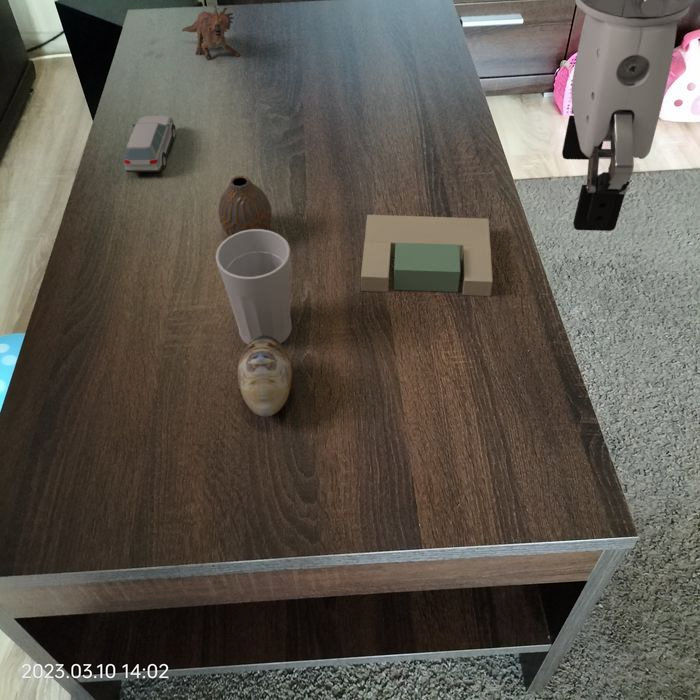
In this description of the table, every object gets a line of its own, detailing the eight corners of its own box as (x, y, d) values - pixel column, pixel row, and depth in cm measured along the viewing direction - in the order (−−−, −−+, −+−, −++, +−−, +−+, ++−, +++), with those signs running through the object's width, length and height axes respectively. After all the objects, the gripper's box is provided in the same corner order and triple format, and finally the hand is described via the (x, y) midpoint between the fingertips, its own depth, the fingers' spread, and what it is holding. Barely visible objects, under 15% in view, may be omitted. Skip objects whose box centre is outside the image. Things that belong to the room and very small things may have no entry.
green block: (457, 265, 94) (459, 244, 91) (458, 292, 90) (460, 271, 88) (395, 263, 94) (395, 242, 91) (393, 290, 91) (394, 269, 88)
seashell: (295, 429, 77) (288, 382, 71) (241, 433, 77) (230, 386, 71) (293, 361, 84) (287, 313, 78) (244, 364, 83) (233, 316, 77)
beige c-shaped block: (486, 233, 97) (488, 218, 96) (490, 296, 90) (492, 281, 88) (367, 229, 99) (367, 214, 97) (361, 291, 91) (360, 276, 89)
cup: (307, 341, 86) (300, 266, 76) (242, 361, 84) (226, 287, 75) (286, 297, 90) (276, 221, 81) (224, 315, 89) (207, 240, 80)
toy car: (179, 130, 116) (173, 101, 112) (163, 179, 107) (156, 150, 103) (144, 130, 116) (136, 102, 112) (125, 179, 107) (116, 150, 104)
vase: (252, 211, 102) (243, 158, 95) (284, 234, 98) (278, 180, 92) (213, 234, 99) (201, 181, 92) (245, 258, 95) (235, 205, 89)
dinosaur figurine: (250, 60, 130) (243, 7, 123) (223, 71, 127) (214, 19, 120) (207, 34, 137) (198, -17, 130) (180, 45, 134) (170, -7, 127)
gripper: (726, 41, 42) (649, 261, 55) (670, -70, 54) (617, 134, 67) (594, 41, 43) (549, 258, 56) (566, -68, 54) (534, 133, 67)
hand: (586, 191), depth 61 cm, fingers open, 9 cm apart
